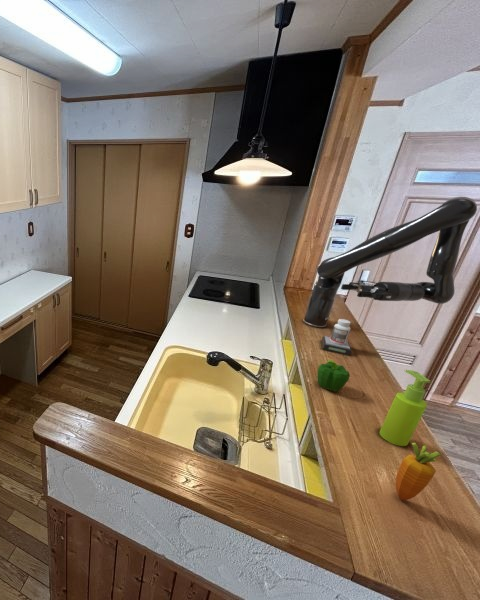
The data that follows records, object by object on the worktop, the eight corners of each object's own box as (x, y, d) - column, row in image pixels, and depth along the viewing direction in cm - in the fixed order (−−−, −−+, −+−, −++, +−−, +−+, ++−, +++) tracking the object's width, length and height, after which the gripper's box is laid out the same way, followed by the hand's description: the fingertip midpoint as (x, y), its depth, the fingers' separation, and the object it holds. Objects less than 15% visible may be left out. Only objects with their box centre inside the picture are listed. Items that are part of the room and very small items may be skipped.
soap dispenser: (393, 428, 93) (420, 369, 86) (413, 447, 86) (445, 384, 79) (371, 426, 93) (396, 367, 86) (390, 445, 87) (419, 383, 80)
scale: (321, 341, 143) (323, 335, 141) (346, 346, 138) (348, 340, 137) (322, 349, 135) (324, 343, 134) (349, 355, 131) (352, 349, 130)
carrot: (380, 489, 74) (405, 439, 69) (399, 488, 75) (426, 438, 69) (402, 510, 70) (430, 458, 64) (422, 509, 70) (453, 457, 65)
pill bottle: (334, 338, 139) (341, 317, 135) (348, 343, 134) (355, 322, 131) (326, 340, 137) (333, 319, 133) (341, 346, 132) (348, 324, 129)
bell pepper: (344, 386, 111) (354, 361, 107) (342, 397, 105) (351, 371, 102) (315, 376, 116) (324, 352, 113) (311, 386, 111) (320, 361, 107)
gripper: (379, 277, 132) (339, 276, 133) (412, 288, 119) (367, 287, 119) (373, 294, 135) (334, 293, 135) (404, 307, 122) (360, 305, 122)
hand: (350, 290), depth 127 cm, fingers open, 8 cm apart
